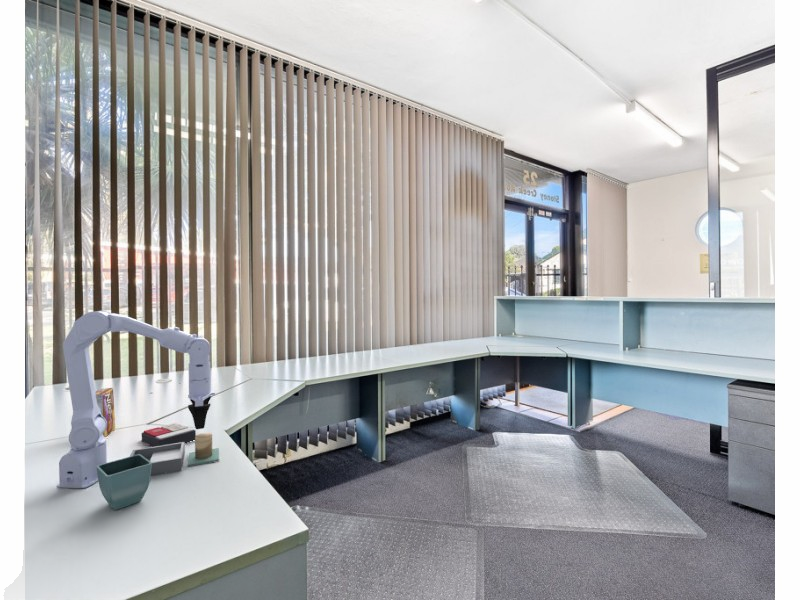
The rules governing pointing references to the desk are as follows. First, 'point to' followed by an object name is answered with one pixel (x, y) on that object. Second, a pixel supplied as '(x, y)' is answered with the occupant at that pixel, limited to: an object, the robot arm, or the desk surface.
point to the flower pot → (124, 480)
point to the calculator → (168, 435)
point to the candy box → (106, 408)
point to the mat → (194, 461)
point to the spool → (203, 445)
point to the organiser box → (163, 457)
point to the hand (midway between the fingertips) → (200, 424)
